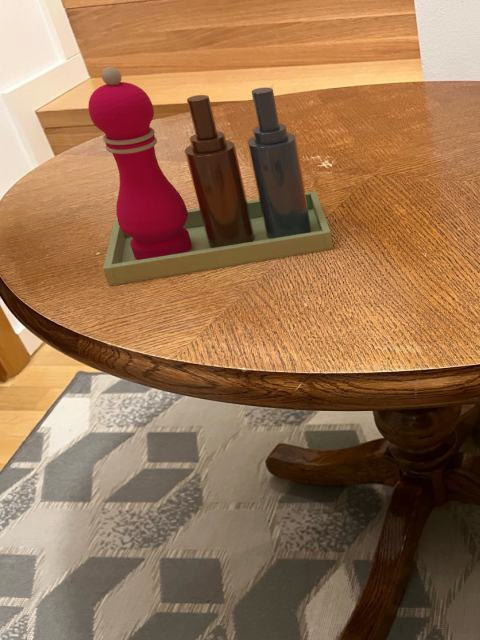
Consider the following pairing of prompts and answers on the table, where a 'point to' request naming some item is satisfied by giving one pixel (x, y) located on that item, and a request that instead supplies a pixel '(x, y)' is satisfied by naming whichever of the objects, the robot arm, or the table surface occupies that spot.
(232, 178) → the brown bottle
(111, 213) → the table surface
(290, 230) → the blue bottle
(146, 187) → the pepper mill
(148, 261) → the tray
